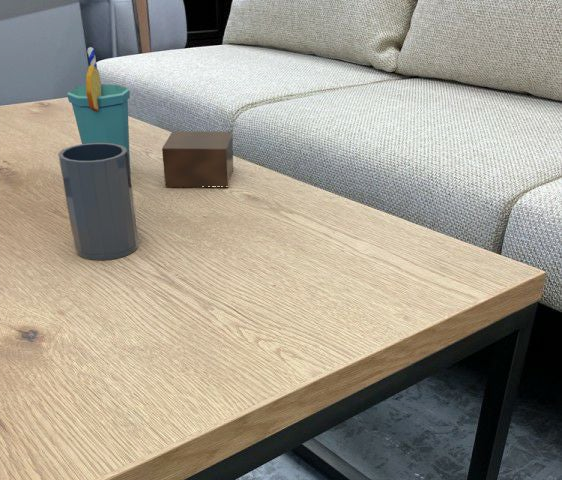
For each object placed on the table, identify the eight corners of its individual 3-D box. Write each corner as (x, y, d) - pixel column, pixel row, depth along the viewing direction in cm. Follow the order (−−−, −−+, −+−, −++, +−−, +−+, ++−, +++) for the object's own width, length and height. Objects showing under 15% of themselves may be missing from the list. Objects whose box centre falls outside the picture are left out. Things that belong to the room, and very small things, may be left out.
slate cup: (67, 260, 71) (49, 161, 66) (84, 235, 77) (69, 142, 71) (131, 260, 71) (118, 162, 65) (143, 235, 76) (132, 142, 71)
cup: (77, 160, 99) (58, 44, 91) (132, 155, 101) (118, 41, 93) (83, 191, 88) (62, 63, 80) (145, 185, 90) (130, 59, 82)
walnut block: (165, 187, 90) (161, 148, 87) (175, 168, 96) (172, 131, 93) (227, 188, 89) (226, 148, 87) (233, 168, 96) (231, 131, 93)
